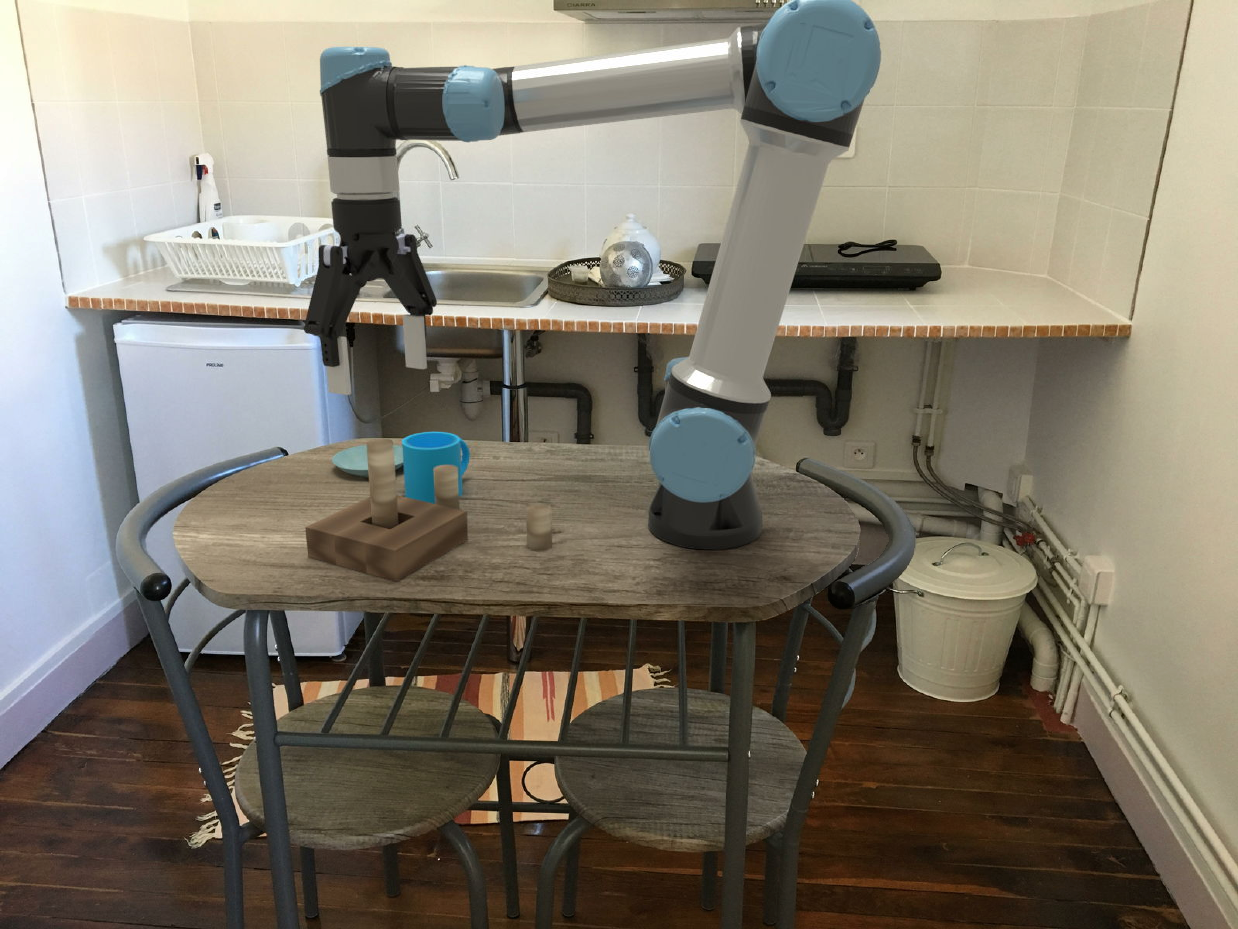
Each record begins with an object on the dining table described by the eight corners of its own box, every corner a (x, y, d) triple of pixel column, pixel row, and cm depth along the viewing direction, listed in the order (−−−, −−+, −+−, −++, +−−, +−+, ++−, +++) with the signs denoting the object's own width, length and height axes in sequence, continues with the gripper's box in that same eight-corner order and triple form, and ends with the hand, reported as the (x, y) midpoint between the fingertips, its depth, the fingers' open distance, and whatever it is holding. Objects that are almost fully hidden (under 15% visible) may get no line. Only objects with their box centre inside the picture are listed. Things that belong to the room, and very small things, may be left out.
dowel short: (556, 544, 130) (556, 508, 128) (543, 553, 127) (542, 516, 125) (535, 539, 131) (535, 503, 129) (522, 548, 128) (521, 511, 127)
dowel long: (405, 546, 128) (398, 441, 124) (388, 555, 126) (381, 448, 121) (385, 540, 130) (378, 437, 125) (368, 549, 127) (360, 444, 122)
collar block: (467, 539, 130) (466, 511, 129) (396, 581, 119) (394, 550, 117) (383, 519, 137) (381, 491, 135) (308, 557, 125) (305, 527, 124)
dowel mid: (464, 515, 138) (462, 467, 136) (450, 523, 136) (447, 474, 133) (445, 510, 140) (443, 463, 137) (431, 518, 137) (428, 470, 135)
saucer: (354, 489, 148) (353, 474, 147) (319, 467, 156) (318, 453, 156) (425, 471, 155) (424, 457, 154) (388, 452, 164) (387, 438, 163)
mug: (436, 508, 141) (433, 453, 138) (393, 497, 145) (389, 442, 142) (490, 483, 150) (488, 431, 148) (448, 473, 154) (445, 422, 152)
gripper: (410, 187, 125) (421, 355, 132) (255, 202, 105) (278, 400, 112) (459, 189, 122) (468, 361, 129) (309, 205, 101) (329, 409, 108)
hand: (380, 380), depth 120 cm, fingers open, 13 cm apart
